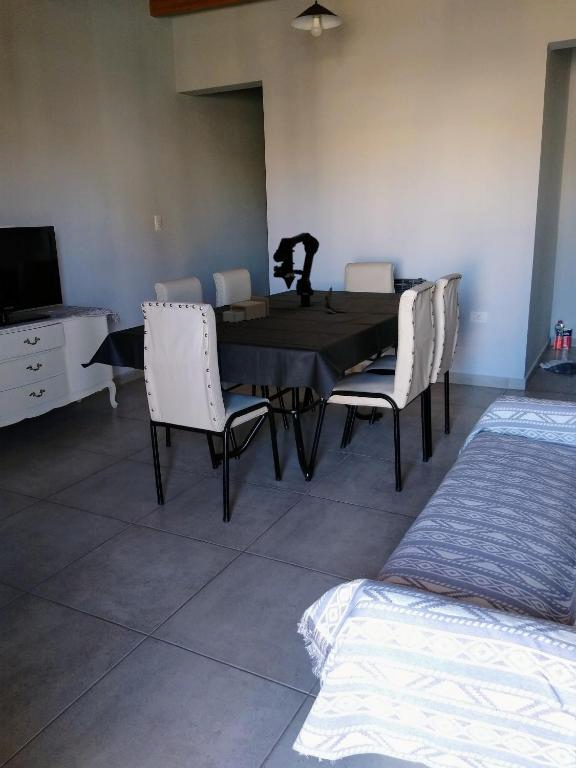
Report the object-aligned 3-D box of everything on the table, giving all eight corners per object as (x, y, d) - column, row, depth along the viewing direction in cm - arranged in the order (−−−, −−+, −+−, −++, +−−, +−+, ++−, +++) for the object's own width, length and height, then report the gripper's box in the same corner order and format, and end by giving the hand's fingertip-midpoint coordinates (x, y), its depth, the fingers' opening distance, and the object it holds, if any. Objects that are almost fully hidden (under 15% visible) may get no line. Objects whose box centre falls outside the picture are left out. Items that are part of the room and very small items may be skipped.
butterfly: (313, 293, 345) (327, 283, 340) (321, 293, 353) (335, 284, 348) (326, 321, 342) (340, 312, 337) (334, 320, 351) (348, 312, 346)
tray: (252, 314, 349) (251, 296, 346) (269, 316, 341) (268, 297, 338) (220, 320, 333) (219, 301, 330) (237, 323, 324) (236, 303, 321)
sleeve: (249, 314, 348) (248, 300, 345) (265, 316, 339) (265, 302, 337) (231, 318, 338) (230, 304, 335) (247, 321, 329) (246, 306, 327)
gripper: (288, 259, 362) (289, 286, 366) (265, 261, 349) (266, 289, 353) (303, 259, 355) (303, 287, 359) (280, 262, 342) (281, 291, 346)
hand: (288, 289), depth 355 cm, fingers closed
